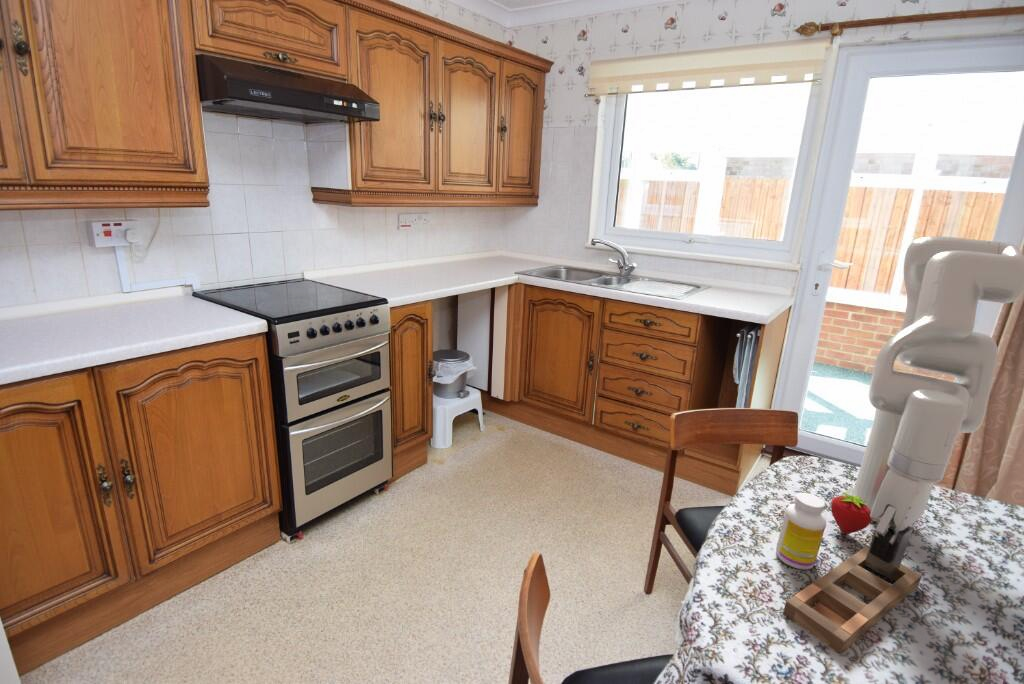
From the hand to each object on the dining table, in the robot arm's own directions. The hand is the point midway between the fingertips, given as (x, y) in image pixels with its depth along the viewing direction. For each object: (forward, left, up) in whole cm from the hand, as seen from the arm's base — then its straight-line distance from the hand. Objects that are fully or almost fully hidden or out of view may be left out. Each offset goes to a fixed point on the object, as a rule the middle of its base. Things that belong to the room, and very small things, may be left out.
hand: (886, 552), depth 95 cm
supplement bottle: (+9, -11, -6) cm, 15 cm away
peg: (0, 0, -3) cm, 3 cm away
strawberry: (-9, -10, -6) cm, 14 cm away
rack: (+9, 0, -6) cm, 11 cm away
